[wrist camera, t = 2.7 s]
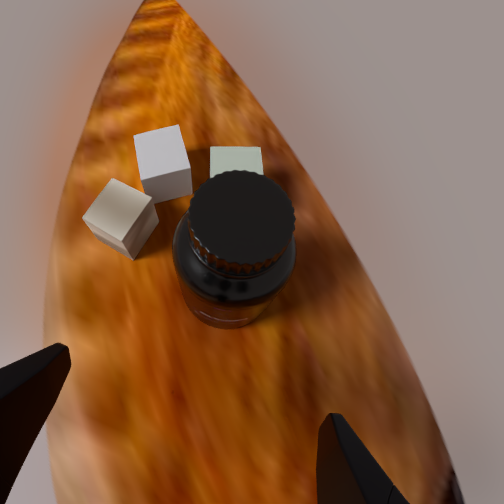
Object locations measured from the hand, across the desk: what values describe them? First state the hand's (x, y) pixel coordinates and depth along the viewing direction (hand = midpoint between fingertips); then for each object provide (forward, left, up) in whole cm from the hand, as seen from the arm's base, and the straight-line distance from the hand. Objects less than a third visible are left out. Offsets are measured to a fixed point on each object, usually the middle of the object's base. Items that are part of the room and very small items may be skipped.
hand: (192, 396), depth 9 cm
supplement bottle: (+8, +1, -14) cm, 16 cm away
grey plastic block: (+16, +9, -14) cm, 23 cm away
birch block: (+10, +10, -14) cm, 19 cm away
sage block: (+16, +3, -14) cm, 21 cm away
